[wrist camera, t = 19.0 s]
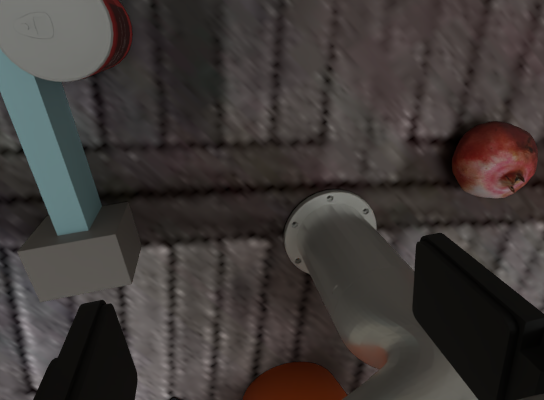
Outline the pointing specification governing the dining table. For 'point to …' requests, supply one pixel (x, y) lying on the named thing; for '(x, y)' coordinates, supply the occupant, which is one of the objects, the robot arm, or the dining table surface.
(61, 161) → the teal gray angled bar
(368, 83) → the dining table surface
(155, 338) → the dining table surface
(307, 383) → the flowerpot
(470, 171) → the fruit
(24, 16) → the canned food
